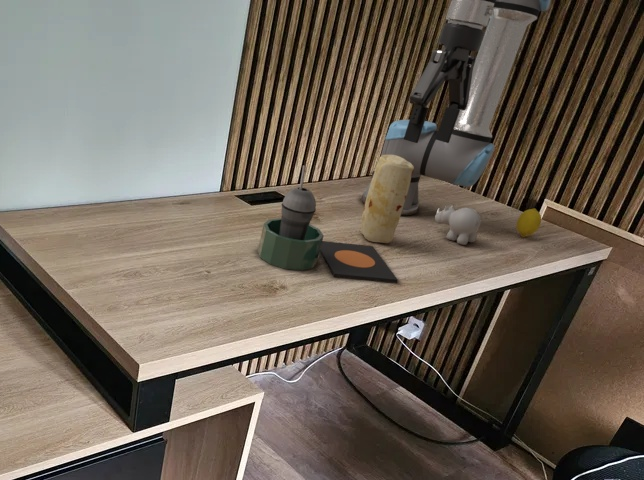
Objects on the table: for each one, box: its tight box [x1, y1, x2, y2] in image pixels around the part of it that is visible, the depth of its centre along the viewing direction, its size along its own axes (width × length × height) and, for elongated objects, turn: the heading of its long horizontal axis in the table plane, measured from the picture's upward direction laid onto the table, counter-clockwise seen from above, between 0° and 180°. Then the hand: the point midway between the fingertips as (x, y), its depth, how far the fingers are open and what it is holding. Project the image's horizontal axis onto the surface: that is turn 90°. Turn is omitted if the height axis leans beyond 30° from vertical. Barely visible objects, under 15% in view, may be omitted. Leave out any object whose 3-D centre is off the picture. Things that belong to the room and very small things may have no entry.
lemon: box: [515, 208, 542, 238], centre depth 182 cm, size 6×6×8 cm
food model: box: [360, 155, 414, 244], centre depth 163 cm, size 10×7×20 cm
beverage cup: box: [279, 165, 317, 240], centre depth 145 cm, size 7×7×20 cm
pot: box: [257, 217, 325, 271], centre depth 149 cm, size 13×13×6 cm
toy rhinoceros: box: [434, 204, 482, 246], centre depth 174 cm, size 7×12×8 cm, turn 35°
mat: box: [319, 240, 399, 284], centre depth 153 cm, size 18×14×1 cm
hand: (426, 141), depth 137 cm, fingers open, 13 cm apart
